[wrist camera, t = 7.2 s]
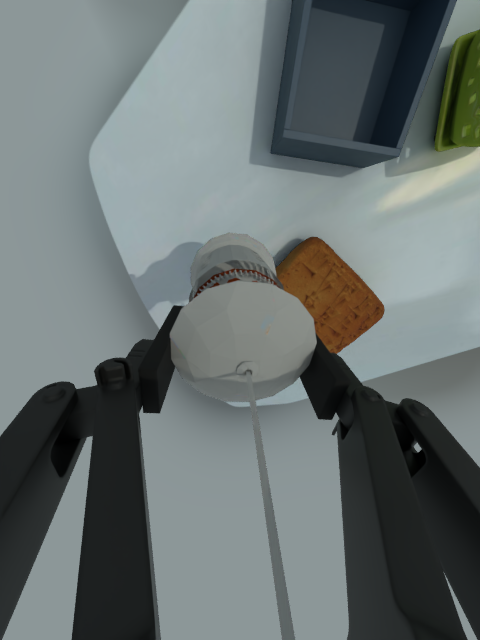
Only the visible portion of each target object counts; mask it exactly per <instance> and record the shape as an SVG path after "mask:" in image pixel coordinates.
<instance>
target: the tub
mask: <svg viewBox="0 0 480 640" xmlns="http://www.w3.org/2000/svg"><path fill="white" fill-rule="evenodd" d="M456 1H457V0H293V1H292V8H291V15H290V22H289V29H288V36H287V43H286V50H285V57H284V64H283V70H282V77H281V84H280V91H279V98H278V105H277V112H276V119H275V126H274V133H273V140H272V147H271V154H278V155H284V156H290V157H296V158H303V159H309V160H315V161H322V162H328V163H334V164H341V165H347V166H353V167H359V168H365V167H368V166H371V165H374V164H378V163H381V162H384V161H387V160H390V159H393V158H396V157H399V155H400V152H401V149H402V146H403V144H404V141H405V138H406V136H407V133H408V130H409V128H410V125H411V122H412V120H413V117H414V114H415V111H416V109H417V106H418V103H419V101H420V98H421V95H422V93H423V90H424V87H425V85H426V82H427V79H428V77H429V74H430V71H431V69H432V66H433V63H434V60H435V58H436V55H437V52H438V50H439V47H440V44H441V42H442V39H443V36H444V34H445V31H446V28H447V26H448V23H449V20H450V18H451V15H452V12H453V9H454V7H455V4H456Z"/></svg>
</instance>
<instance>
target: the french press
mask: <svg viewBox="0 0 480 640" xmlns="http://www.w3.org/2000/svg"><path fill="white" fill-rule="evenodd" d="M277 281H278V282H277ZM276 283H277V284H276ZM191 285H192V287H193V288H192V291H191V293H190V297H189V303H188V304H187V305H186V306H184V307H183V308H182V309H181V311H180V313H179V315H178V317H177V319H176V321H175V324H174V326H173V328H172V330H171V332H170V338H171V360H172V361H173V363H174V365H175V367H176V369H177V370H178V372H179V374H180V376H181V377H182V379H183V380H185V381H186V382H187V383H189V384H190V385H191V386H193V387H194V388H195V389H196V390H198V391H199V392H200V393H202V394H205V395H208V396H211V397H214V398H217V399H219V400H222V401H225V402H250V406H251V413H252V421H253V427H254V435H255V443H256V450H257V458H258V465H259V472H260V480H261V486H262V494H263V501H264V509H265V517H266V524H267V531H268V538H269V546H270V553H271V561H272V568H273V576H274V583H275V590H276V597H277V605H278V612H279V619H280V627H281V635H282V640H295V636H294V630H293V624H292V618H291V612H290V606H289V601H288V594H287V588H286V582H285V576H284V570H283V565H282V558H281V552H280V546H279V540H278V534H277V528H276V522H275V516H274V510H273V504H272V498H271V493H270V487H269V480H268V474H267V468H266V463H265V456H264V450H263V444H262V439H261V432H260V426H259V420H258V415H257V408H256V402H255V400H259V399H263V398H267V397H270V396H274V395H275V394H277V393H278V392H280V391H282V390H283V389H285V388H287V387H288V386H290V385H291V384H293V383H294V382H295V381H296V380H297V379H298V378H299V376H300V375H301V374H302V373H303V372H304V371H305V369H306V368H307V367H308V366H309V364H310V361H311V358H312V355H313V352H314V349H315V347H316V344H317V341H316V334H315V326H314V319H313V317H312V316H311V315H310V314H309V312H308V311H307V310H306V308H305V307H304V306H303V304H302V303H301V302H300V300H299V299H298V298H297V297H295V296H293V295H291V294H289V293H287V292H285V291H284V288H283V285H282V283H281V282H280V281H279V279H278V278H277V277H276V270H275V265H274V260H273V257H272V256H271V255H270V253H269V252H268V250H267V249H266V248H265V246H264V245H263V244H262V243H261V242H259V241H257V240H255V239H254V238H252V237H250V236H249V235H245V234H236V233H227V234H224V235H221V236H218V237H214V238H211V239H210V240H209V241H208V242H207V243H206V244H205V245H204V246H203V247H201V248H200V249H199V250H198V252H197V254H196V256H195V259H194V261H193V263H192V265H191ZM279 286H280V287H279ZM280 288H281V289H280ZM192 293H194V299H193V296H192Z"/></svg>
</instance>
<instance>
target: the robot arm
mask: <svg viewBox="0 0 480 640" xmlns="http://www.w3.org/2000/svg"><path fill="white" fill-rule="evenodd" d="M183 307H184V306H173V307H172V309H171V311H170V313H169V314H168V316H167V318H166V320H165V322H164V323H163V325H162V327H161V329H160V330H159V332H158V334H157V336H156V338H155V339H154V340H146V339H142V340H141V341H139V342H138V343H136V344H135V345H134V347H133V348H132V349H131V351H130V352H129V354H128V356H127V357H126V358H112V359H108V360H106V361H104V362H102V363H100V364H99V365H98V366H97V367H96V369H95V371H94V372H95V377H96V381H97V385H96V386H92V387H86V388H81V389H76V388H75V386H74V384H72V383H70V382H57V383H53V384H50V385H47V386H45V387H43V388H42V389H40V390H38V391H37V392H36V393H35V394H34V395H33V396H32V397H31V399H30V400H29V401H28V402H27V404H26V405H25V406H24V407H23V409H22V410H21V411H20V413H19V414H18V415H17V416H16V417H15V419H14V420H13V421H12V422H11V424H10V425H9V426H8V427H7V429H6V430H5V431H4V432H3V434H2V435H1V436H0V640H2V638H3V635H4V633H5V631H6V629H7V626H8V624H9V621H10V619H11V617H12V614H13V612H14V610H15V607H16V605H17V602H18V600H19V598H20V595H21V593H22V590H23V588H24V585H25V583H26V581H27V579H28V576H29V574H30V571H31V569H32V567H33V564H34V562H35V560H36V557H37V555H38V552H39V550H40V548H41V545H42V543H43V540H44V538H45V536H46V533H47V531H48V529H49V526H50V524H51V521H52V519H53V517H54V514H55V512H56V510H57V507H58V505H59V502H60V500H61V497H62V495H63V493H64V491H65V488H66V486H67V483H68V481H69V479H70V476H71V474H72V472H73V469H74V467H75V464H76V462H77V459H78V457H79V455H80V452H81V450H82V447H83V445H84V443H85V441H86V438H87V437H89V436H93V440H92V450H91V459H90V470H89V479H88V488H87V497H86V508H85V517H84V526H83V536H82V546H81V555H80V565H79V574H78V584H77V593H76V603H75V613H74V622H73V632H72V640H161V637H160V626H159V617H158V616H159V615H158V605H157V596H156V585H155V574H154V564H153V553H152V543H151V532H150V522H149V511H148V502H147V491H146V480H145V470H144V459H143V449H142V439H141V429H140V418H139V412H140V410H141V407H142V405H143V413H160V411H161V408H162V405H163V402H164V399H165V396H166V393H167V390H168V387H169V384H170V381H171V378H172V375H173V372H174V369H175V365H174V363H173V361H172V360H171V338H170V332H171V330H172V328H173V326H174V324H175V321H176V319H177V317H178V315H179V313H180V311H181V309H182V308H183ZM315 334H316V333H315ZM316 341H317V344H316V347H315V349H314V352H313V355H312V358H311V361H310V364H309V366H308V367H307V368H306V369H305V371H304V372H303V373H302V374H301V375H300V379H301V381H302V383H303V385H304V388H305V390H306V392H307V395H308V397H309V399H310V401H311V403H312V406H313V408H314V410H315V413H316V415H317V417H318V419H325V420H332V419H333V417H334V414H335V413H337V415H338V417H339V420H338V422H337V424H336V426H335V428H334V430H333V432H332V435H335V433H336V431H337V437H338V453H339V469H340V485H341V501H342V517H343V531H344V532H343V533H344V547H345V548H344V549H345V565H346V580H347V597H348V613H349V632H348V637H347V640H467V637H466V635H465V633H464V631H463V627H462V624H461V622H460V619H459V616H458V613H457V610H456V607H455V604H454V601H453V598H452V596H451V592H450V589H449V587H448V584H447V581H446V578H445V575H446V577H447V579H448V581H449V583H450V585H451V587H452V589H453V591H454V593H455V595H456V597H457V599H458V601H459V603H460V605H461V607H462V609H463V611H464V613H465V615H466V617H467V619H468V621H469V623H470V625H471V627H472V629H473V631H474V633H475V635H476V637H477V639H478V640H480V468H479V466H478V465H477V464H476V463H475V462H474V460H473V459H472V458H471V457H470V456H469V455H468V454H467V452H466V451H465V450H464V449H463V448H462V446H461V445H460V444H459V443H458V442H457V440H456V439H455V438H454V437H453V436H452V435H451V433H450V432H449V431H448V430H447V429H446V427H445V426H444V425H443V424H442V423H441V422H440V420H439V419H438V418H437V417H436V416H435V414H434V413H433V412H432V411H431V410H430V409H429V408H428V407H426V406H425V405H423V404H422V403H420V402H418V401H416V400H412V399H407V398H406V399H403V400H402V401H401V402H400V404H395V403H392V402H388V401H385V400H384V399H383V397H382V396H381V395H380V394H379V393H378V392H376V391H375V390H373V389H371V388H369V387H366V386H363V385H362V383H361V382H360V381H359V380H358V378H357V377H356V376H355V375H354V373H353V372H352V371H351V370H350V368H349V367H348V366H347V365H346V363H345V362H344V360H343V359H342V358H341V357H339V356H338V355H337V354H336V353H330V352H329V350H328V349H327V348H326V346H325V345H324V343H323V342H322V341H321V339H320V338H319V337H318V335H317V334H316ZM417 442H418V444H419V445H420V447H421V448H422V450H421V451H420V452H417V451H416V450H415V449H414V445H415V444H416V443H417ZM443 571H444V572H443ZM444 573H445V575H444Z"/></svg>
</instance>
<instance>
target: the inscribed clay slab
mask: <svg viewBox="0 0 480 640" xmlns="http://www.w3.org/2000/svg"><path fill="white" fill-rule="evenodd" d="M275 270H276V277H277V278H278V279H279V281H280V282H281V283H282V285H283V288H284V291H285V292H287V293H289V294H291V295H293V296H295V297H297V298H298V299H299V300H300V302H301V303H302V304H303V306H304V307H305V308H306V310H307V311H308V312H309V314H310V315H311V316H312V317H313V319H314V326H315V333H316V334H317V335H318V337H319V338H320V339H321V341H322V342H323V343H324V345H325V346H326V348H327V349H328V350H329V352H330V353H336V354H337V353H338V352H340V351H341V350H342V349H343V348H344V347H346V346H348V345H349V344H350V343H352V342H353V341H355V340H356V339H357V338H358V337H359V336H361V335H362V334H363V333H364V332H366V331H367V330H368V329H370V328H371V327H372V326H373V325H374V324H375V323H377V322H378V321H379V320H380V319H381V318H382V316H383V314H384V305H383V304H382V302H381V301H380V300H379V299H378V297H377V296H376V295H375V294H374V292H373V291H372V290H371V289H370V288H369V287H368V286H367V285H366V283H365V282H364V281H363V280H362V279H361V278H360V277H359V276H358V275H357V274H356V273H355V272H354V271H353V270H352V269H351V268H350V267H349V266H348V265H347V264H346V263H345V262H344V261H343V260H342V259H341V258H340V257H339V256H338V255H337V254H336V253H335V252H334V251H333V250H332V248H331V247H330V246H329V245H328V244H326V243H325V242H324V241H323V240H321V239H319V238H318V237H310V238H308V239H306V240H305V241H303V242H302V243H300V244H299V245H298V246H297V247H296V248H295V249H294V250H292V251H291V252H290V253H289V254H288V256H287V257H286V259H284V260H283V261H282V262H281V263H280V265H279V266H277V267H276V268H275ZM277 282H278V281H277ZM276 284H277V283H276ZM279 287H280V286H279ZM280 289H281V288H280Z"/></svg>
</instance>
